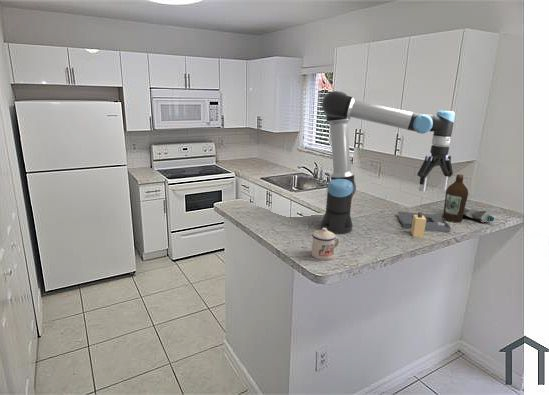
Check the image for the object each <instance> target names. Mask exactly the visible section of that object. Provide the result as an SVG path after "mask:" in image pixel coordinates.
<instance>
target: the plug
mask: <svg viewBox="0 0 549 395" xmlns="http://www.w3.org/2000/svg"><path fill="white" fill-rule="evenodd" d="M417 213H418V215H413V222H412V228H411V229H410V233H411V235H412V237H414V238H424V236H425V231H426V230H425V224H426V218H425V217H424V216H423V214H424V213H423V212H422V211H421V212H419V211H418V212H417Z"/></svg>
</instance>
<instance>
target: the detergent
mask: <svg viewBox="0 0 549 395" xmlns="http://www.w3.org/2000/svg"><path fill="white" fill-rule="evenodd" d="M463 216H466V217H468V218H471V219H477V220H478V219H479V220H481V221H482V222H486V223H488V222H493V221H494V220H495V217H494V216H493V215H490V213H489V211H487V210H476V209H472V208H471V209H468V208H466V207H465V209H464V213H463ZM479 220H478V221H479ZM481 221H480V222H481ZM487 221H488V222H487ZM482 222H481V223H482Z"/></svg>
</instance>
